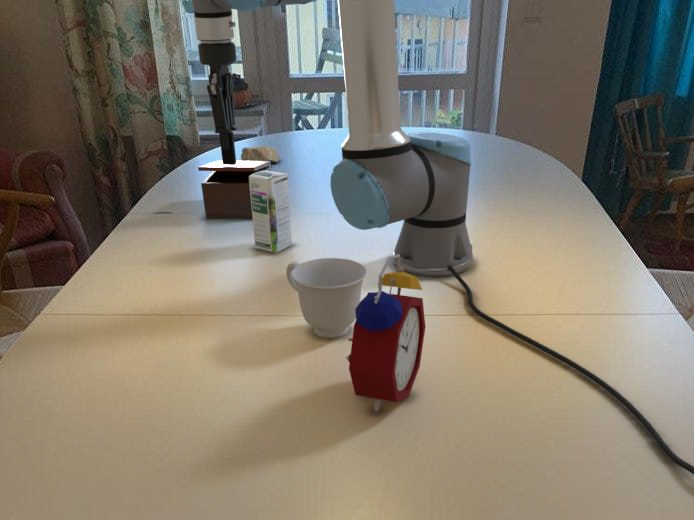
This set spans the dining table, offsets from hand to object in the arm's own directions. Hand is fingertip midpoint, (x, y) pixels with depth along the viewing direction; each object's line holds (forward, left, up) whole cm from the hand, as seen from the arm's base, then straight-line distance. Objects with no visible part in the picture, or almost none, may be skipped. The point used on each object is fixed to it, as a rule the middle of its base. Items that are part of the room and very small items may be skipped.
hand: (229, 163), depth 163 cm
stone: (+46, +4, -11) cm, 47 cm away
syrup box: (-20, -13, -11) cm, 27 cm away
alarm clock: (-77, -40, -11) cm, 88 cm away
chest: (+5, 0, -11) cm, 12 cm away
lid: (+5, 0, -2) cm, 5 cm away
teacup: (-57, -29, -11) cm, 65 cm away
